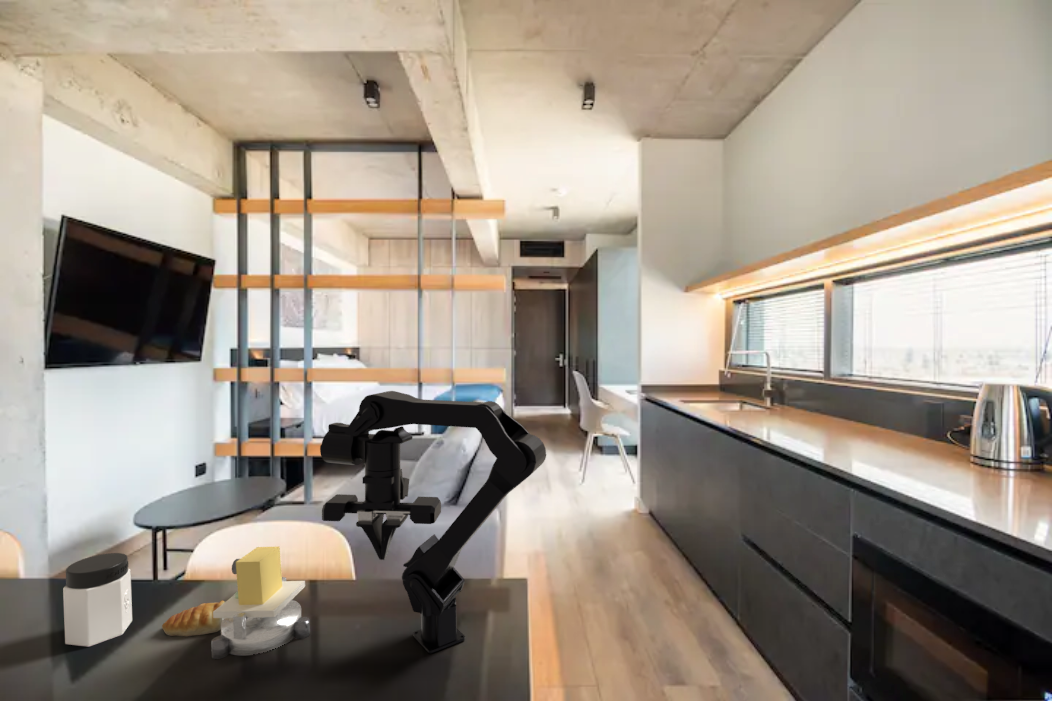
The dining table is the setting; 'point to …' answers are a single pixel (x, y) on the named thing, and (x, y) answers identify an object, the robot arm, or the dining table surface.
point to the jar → (97, 599)
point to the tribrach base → (260, 632)
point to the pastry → (194, 621)
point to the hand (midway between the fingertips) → (382, 558)
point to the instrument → (259, 586)
